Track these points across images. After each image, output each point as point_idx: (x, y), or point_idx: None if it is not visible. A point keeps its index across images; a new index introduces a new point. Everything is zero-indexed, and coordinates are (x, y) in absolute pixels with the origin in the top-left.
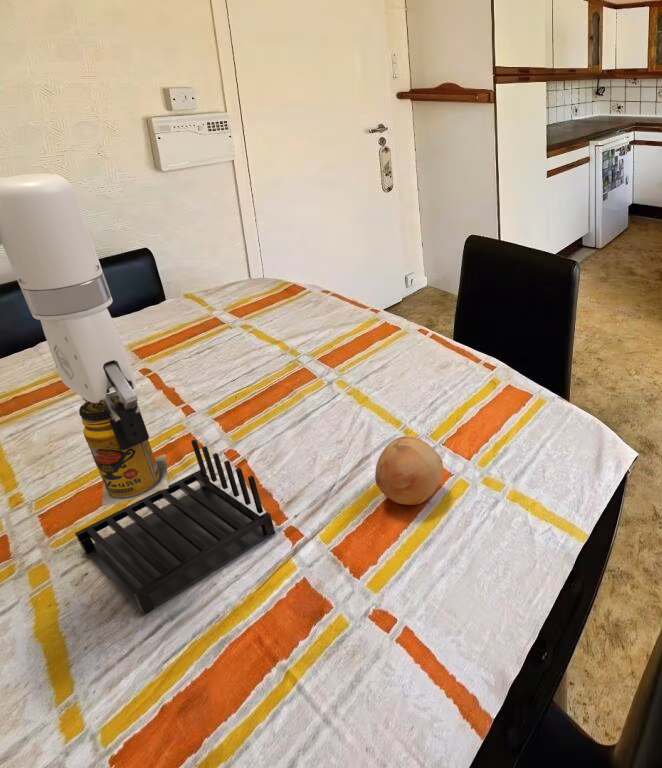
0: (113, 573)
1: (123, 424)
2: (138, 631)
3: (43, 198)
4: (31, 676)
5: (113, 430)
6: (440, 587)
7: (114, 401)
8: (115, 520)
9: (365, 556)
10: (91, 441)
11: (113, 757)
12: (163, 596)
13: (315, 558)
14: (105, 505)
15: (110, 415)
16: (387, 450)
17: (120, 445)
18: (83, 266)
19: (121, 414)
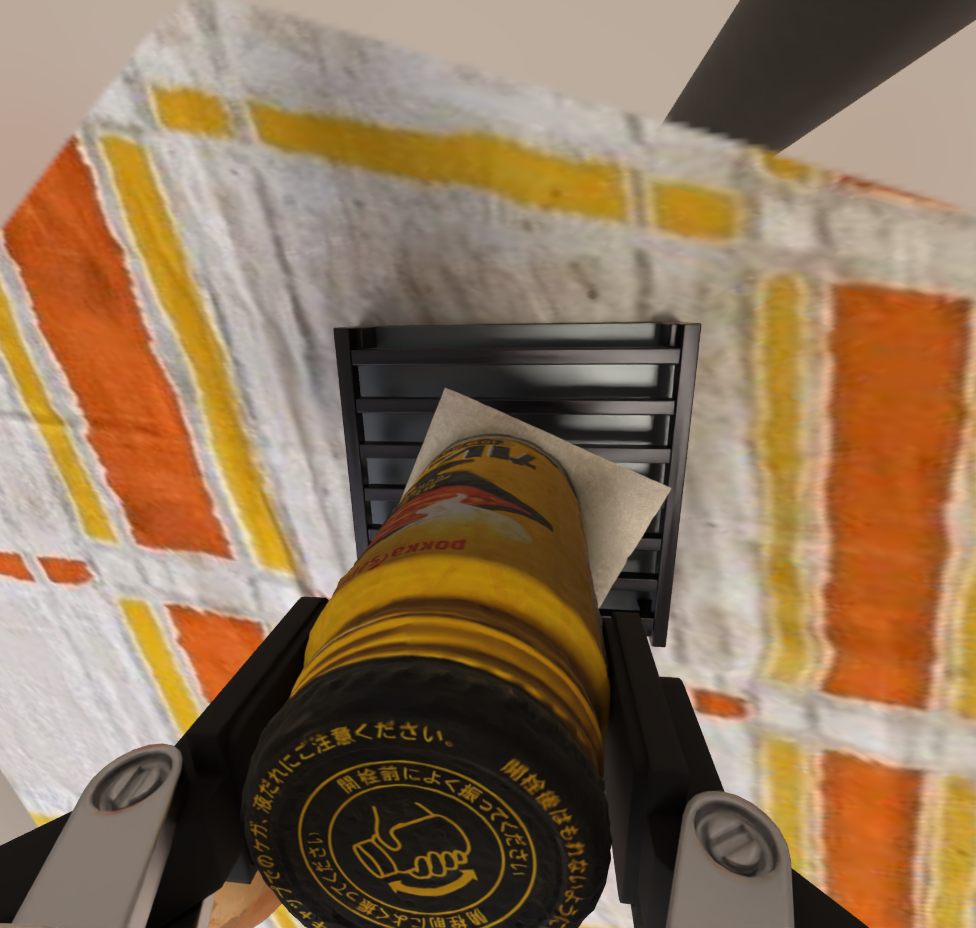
0: (529, 336)
1: (176, 747)
2: (324, 297)
3: None
4: (365, 87)
5: (250, 676)
6: (68, 657)
7: (386, 900)
8: (671, 418)
9: (205, 643)
10: (405, 546)
11: (72, 140)
12: (368, 373)
13: (261, 597)
14: (443, 399)
15: (167, 788)
16: (226, 885)
17: (289, 611)
18: None
19: (20, 843)
